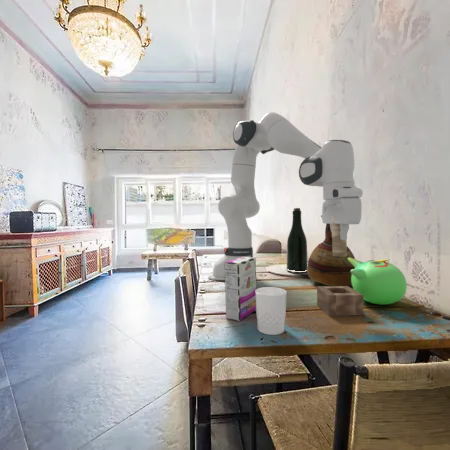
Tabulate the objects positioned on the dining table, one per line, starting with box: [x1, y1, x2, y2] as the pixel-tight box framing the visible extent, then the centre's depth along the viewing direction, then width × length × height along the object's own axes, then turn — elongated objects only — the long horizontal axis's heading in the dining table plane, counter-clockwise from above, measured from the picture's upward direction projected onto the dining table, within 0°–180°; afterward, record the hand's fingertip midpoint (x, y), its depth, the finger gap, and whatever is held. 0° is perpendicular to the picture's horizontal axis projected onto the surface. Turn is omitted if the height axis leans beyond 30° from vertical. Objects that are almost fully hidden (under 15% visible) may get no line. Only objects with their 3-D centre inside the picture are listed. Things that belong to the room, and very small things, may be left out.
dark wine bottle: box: [286, 207, 308, 271], centre depth 141 cm, size 10×10×33 cm
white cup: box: [255, 286, 288, 336], centre depth 69 cm, size 8×8×10 cm
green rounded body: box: [347, 257, 408, 306], centre depth 90 cm, size 18×17×15 cm
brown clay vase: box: [307, 214, 356, 286], centre depth 115 cm, size 20×20×30 cm
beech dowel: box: [332, 216, 348, 257], centre depth 82 cm, size 4×4×12 cm
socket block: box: [316, 285, 364, 317], centre depth 83 cm, size 10×10×6 cm
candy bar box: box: [224, 256, 257, 322], centre depth 80 cm, size 11×5×16 cm, turn 148°
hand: (339, 239), depth 82 cm, fingers closed on beech dowel, 4 cm apart
